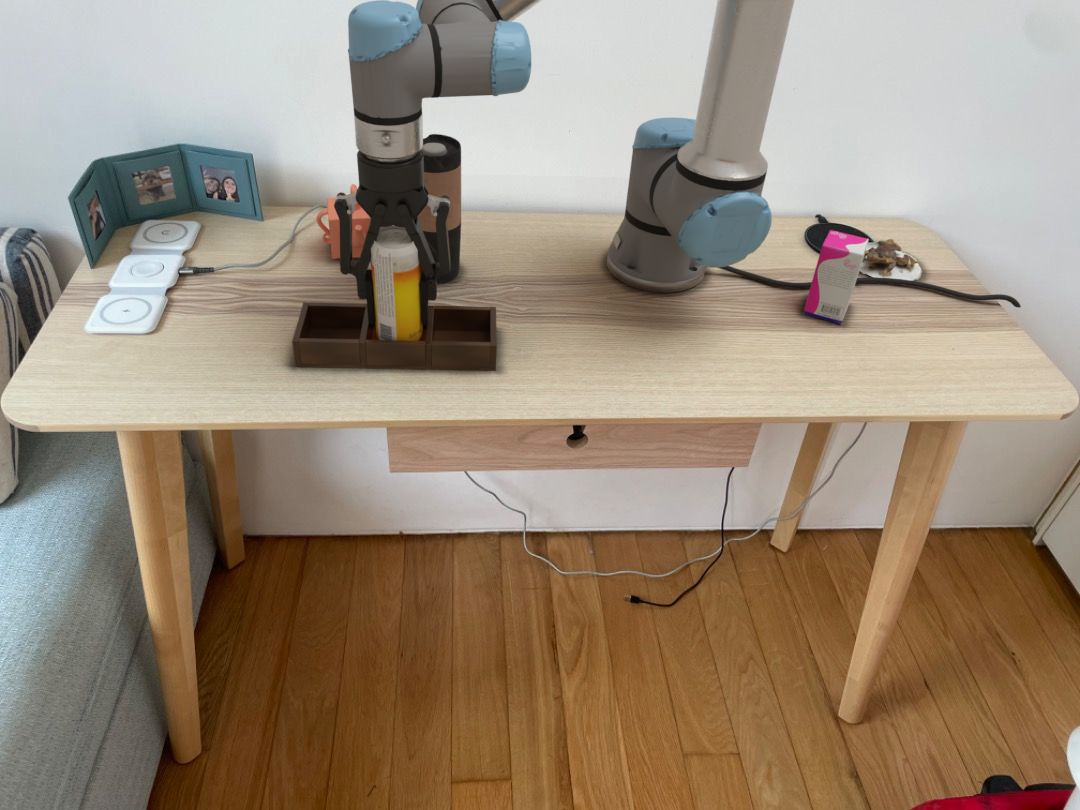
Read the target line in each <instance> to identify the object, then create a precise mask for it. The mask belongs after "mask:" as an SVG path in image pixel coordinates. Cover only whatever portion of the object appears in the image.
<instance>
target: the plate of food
mask: <svg viewBox="0 0 1080 810" xmlns="http://www.w3.org/2000/svg"><path fill="white" fill-rule="evenodd" d="M859 273H861V274H862V275H868V276H869V277H876V278H893V279H903V280H910V281H919V279H921V277H922V273H923V270H922V268H921V267H920V264H919V262H918V260H917V259H916V257H915V256H913V255H912V254H911V253H909V252H907V251H906V252H903V251H902V247H901V246H900V245H899V244H898V243H897V242H896V241H894V239H893V238H889V239H880V240H879V241H872V242H868V244H867V247H866V251H865V254H864V257H863V261H862V264H861V267H860V270H859Z"/></svg>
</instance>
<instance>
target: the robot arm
mask: <svg viewBox="0 0 1080 810" xmlns="http://www.w3.org/2000/svg"><path fill="white" fill-rule="evenodd" d="M541 2H543V0H417V2H416V5H415V6H413V5H412V4H409V3H407V2H403V1H392V0H370V1H365V2H361V3H359V4H358V5H356V6H355V7H353V8H352V10H351V11H350V12H349V15H348V18H347V19H348V20H347V26H348V27H347V28H348V29H347V31H348V32H347V33H348V48H347V53H348V62H349V72H350V81H351V82H350V83H351V96H352V106H353V119H354V121H353V122H354V133H355V134H354V136H355V146H356V149H357V150H358V151H357V153H356V161H357V175H358V186H357V193H352V194H350V193H349V194H346V193H344V192H338V193H337V194H336V197H335V198H336V200H335V204H334V208H335V210H336V213H337V215H338V217H339V220H340V258H339V270H340V273H341V274H342V275H345V276H347V275H351V276H353V277H354V278H355V280H356V281H355V282H356V291H357V297H358V299H359V300H366V304H367V311H368V324H375V310H374V296H373V282H372V269H369V266H370V263H371V248H372V246H373V244H374V240H375V241H376V239H377V236H378V233H379V230H380V227H388V226H397V227H405V229H406V231H407V234H408V235H409V236H410V239H411V241H412V242H413V241H414V245H415V246H416V248H417V250H418V259H419V261H420V264H421V266H422V269H423V271H421V281H420V286H421V316H422V325H428V316H429V308H428V306H429V301H436V299H437V296H438V295H437V294H438V287H437V286H438V285H437V278H438V277H440V276H444V277H447V276H449V275H450V266H451V261H450V250H449V239H448V228H447V216H448V213H449V207H450V198H449V197H448V196H447V195H443V196H441V198H439V197H436V196H432V195H429V193H428V191H427V189H426V188H425V185H424V161H423V152H422V150H421V149H422V147H423V139H424V125H423V123H424V122H423V121H424V120H423V99H430V98H431V99H434V98H435V99H436V98H453V97H456V98H457V97H459V98H460V97H480V96H481V97H483V96H484V97H485V96H493V97H498V96H501V95H508V94H516V93H517V94H518V93H520V92H522V91H524V90H525V89H526V87H527V86H528V84H529V81H530V78H531V74H532V47H531V41H530V37H529V33H528V31H527V28H525V26H524V24H522V23H521V22H517V21H515V20H517V19H519V18H520V17H521V16H522V15H524V14H525V13H526V12H528V11H529V10H531V9H532V8H534V7H535V6H536V5H538V4H539V3H541ZM794 5H795V0H717V3H716V7H715V13H714V18H713V24H712V28H711V29H712V30H711V35H710V41H709V46H708V51H707V56H706V62H705V68H704V73H703V78H702V84H701V90H700V96H699V101H698V105H697V110H696V111H697V112H696V116H695V117H696V118H695V119H693V118H687V117H659V118H652V119H650V120H647V121H644V122H642V123H641V124H640V125H639V126H638V127H637V129H636V132H635V135H634V141H633V144H632V146H631V148H632V154H631V162H630V169H629V178H628V186H627V193H626V194H627V195H626V203H625V210H624V216H623V219H622V221H621V223H620V225H619V227H618V229H617V231H615V233H614V236H613V237H612V241H611V243H610V245H609V246H608V250H607V255H606V256H607V257H606V266H607V269H608V271H609V272H610V273H611V275H612V276H613V277H614V278H616V279H617V280H619V281H620V282H621V283H623V284H625V285H627V286H630V287H632V288H636V289H638V290H642V291H647V292H653V293H678V292H682V291H686V290H689V289H692V288H694V287H696V286H697V285H699V284H700V283H701V282H702V281H703V279H704V277H705V273H706V267H707V268H717V269H720V270H723V271H726V272H729V273H733V274H735V275H738V276H742V277H745V278H747V279H751V280H755V281H758V282H761V283H764V284H768V285H772V286H775V287H783V288H788V289H789V288H790V289H810V287H811V284H812V281H808V282H791V281H782V280H777V279H773V278H769V277H766V276H762V275H759V274H756V273H753V272H749V271H746V270H742V269H740V268H737V267H733V265H735V264H737V263H740V262H741V261H744V260H745V259H746V258H747V257H748V256H749V255H751V254H753V253H755V252H756V251H757V250H758V249H759V248H760V247H761V246H762V244H763V243H764V241H765V240H766V239H767V237H768V234H769V233H770V231H771V226H772V221H773V216H772V211H771V208H770V204H769V202H768V201H767V200H766V199H765V197H763V196H762V193H763V190H764V186H765V182H766V178H767V177H766V176H767V173H768V167H769V164H768V163H769V162H768V160H767V159H766V158H765V156H764V154H763V153H762V152H761V145H762V141H763V137H764V133H765V129H766V124H767V119H768V114H769V111H770V107H771V102H772V98H773V94H774V89H775V86H776V81H777V77H778V73H779V69H780V64H781V59H782V55H783V51H784V46H785V43H786V39H787V34H788V29H789V26H790V21H791V17H792V13H793V8H794ZM356 204H359V205H360V206H361V207H362V209H363V210H364V211H365V212H366V213H367V214H368V216H369V217H370V218H371V220H370V224H369V227H368V230H367V234H366V237H365V241H364V244H363V247H362V251H361V254H360V257H358V261H357V260H354V259H353V258H352V213H354V211H355V207H356V206H355V205H356ZM426 205H427V206H429V207H430V209H431V214H432V215H433V216H435V217H436V234H437V244H438V254H439V262H438V263H435V261H434V259H433V256H432V254H431V251H430V248H429V246H428V243H427V241H426V238H425V236H424V233H423V230H422V228H421V225H420V221H419V218H418V215H419V214H420V213H421V212H422V210H423V209H424V208H425V206H426ZM861 283H862V284H863V283H875V284H891V285H892V284H893V285H903V286H909V287H915V288H921V289H925V290H930V291H935V292H937V293H938V292H939V293H942V294H945V295H949V296H951V297H956V298H961V299H965V300H970V301H998V300H999V301H1000V300H1001V301H1006V302H1009V303H1010V304H1011V305H1012V306H1013V307H1015V308H1019V309H1020V308H1021V307H1022V306H1021V304H1020V302H1019V301H1018V299H1016V298H1014V297H1013V296H1011V295H1008V294H1001V293H999V294H998V293H997V294H995V293H994V294H971V293H965V292H961V291H957V290H953V289H949V288H946V287H943V286H939V285H935V284H932V283H926V282H921V281H917V280H914V281H910V280H903V279H893V278H876V277H871V276H869V277H868V276H867V277H865V276H864V277H857V280H856V283H855V284H861Z"/></svg>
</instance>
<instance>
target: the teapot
mask: <svg viewBox="0 0 1080 810" xmlns="http://www.w3.org/2000/svg"><path fill="white" fill-rule="evenodd" d="M349 189H350V190H349V194H352V193H357V189H358V186H357V184H354V183H352V184H351V185H350V186H349ZM335 200H336V197H327V198H326V207H327V208H324V209H321V211H319V212H318V213H317V215H316V217H315V218H316V223H317V225H318V227H319V228H320V229H321V230H322V231H323V234H322V241H323V242H324V243H325V244H330V251H331V259H332V260H333V259H334V260H335V259H340V220H339V217H338V215H337V213H336V210H335V208H334V204H335ZM355 206H356V207H355V211H354V213H352V259H354V258H360V254H361V251H362V247H363V244H364V241H365V237H366V234H367V230H368V227H369V224H370V220H371V218H370V217H369V216H368V214H367V213H366V212H365V211H364V210H363V209H362V207H361V206H360V205H359V204H356V205H355ZM325 215H326V216H327V219H328V220H327V221H328V227H327V226H326V225H325V223H323V221H322V217H323V216H325ZM380 228H383V227H380Z"/></svg>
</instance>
